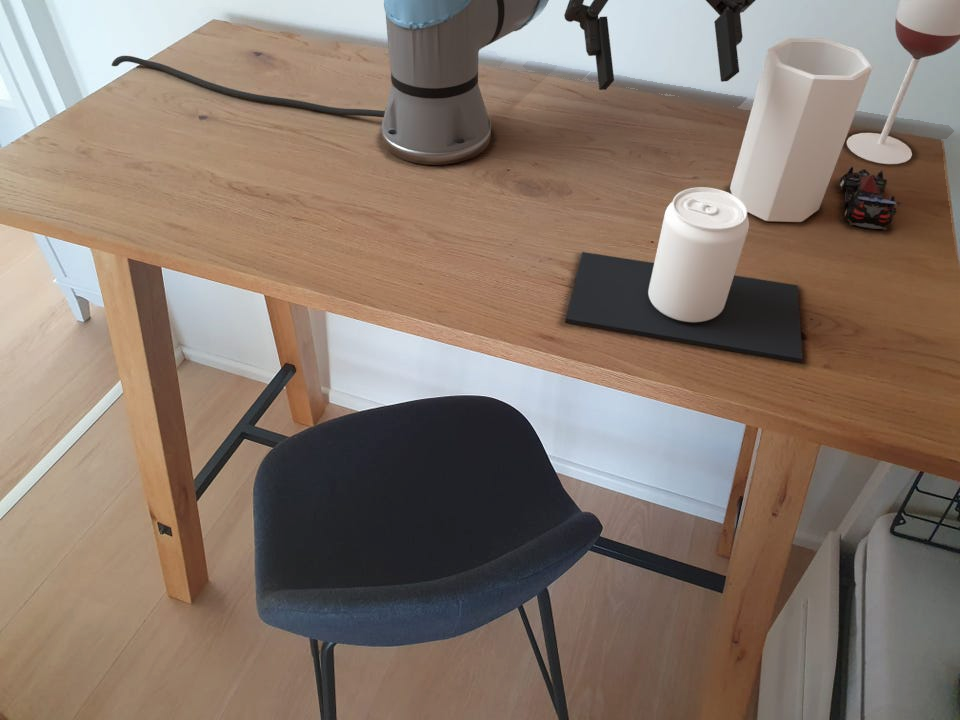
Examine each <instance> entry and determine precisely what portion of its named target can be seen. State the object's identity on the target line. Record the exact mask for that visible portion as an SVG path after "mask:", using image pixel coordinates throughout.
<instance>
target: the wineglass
mask: <svg viewBox="0 0 960 720" xmlns="http://www.w3.org/2000/svg"><path fill="white" fill-rule="evenodd" d="M894 28H895V29H894V30H895V31H894V32H895V37H896V39H897V41H898V42H899V44H900V45H901V47H903V49H904V50H905V51H906V52H907V53H909V54H910V55H911V56H912V58H911V61H910V64H909V66H908V69H907V71H906V73H905V75H904V78H903V80H902V82H901V85H900V88H899V89H898V92H897V95H896V97H895V100H894V102H893V104H892V107H891V109H890V112H889V114H888V116H887V119H886V122H885V124H884V126H883V128H882V131H881V133H877V132H875V133H874V132H860V133H855V134H852V135H851V136H849V137H848V138H847V139H846V146H847V148H848V149H849V150H850V152H852V153H853V154H854V155H856V156H858V157H859V158H862V159H864V160H865V161H869V162H874V163H877V164H884V165H899V164H903V163H906V162H908V161H909V160H911V158H912V156H913V153H912V149H911V148H910V147H909V145H908V144H906V143H904V142H903V141H901V140H900V139H897V138H895V137H892V136H890V135H889V134H890V131H891V129H892V126H893V124H894V122H895V120H896V118H897V115H898V112H899V110H900V108H901V105H902V103H903V100H904V98H905V96H906V93H907V91H908V89H909V86H910V84H911V81H912V79H913V76H914V74H915V73H916V70H917V67H918V65H919V62H920V60H921V59H922V58H927V57H930V56H931V57H933V56H935V55H938V54H942V53H944V52H946V51H947V50H949V49H951V48H953V46H954V45H956V44H957V43H958V42H960V0H899V2H898V5H897V9H896V13H895V23H894Z"/></svg>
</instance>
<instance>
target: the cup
mask: <svg viewBox="0 0 960 720" xmlns="http://www.w3.org/2000/svg"><path fill="white" fill-rule="evenodd" d="M764 59H765V60H764V63H763V66H762V70H761V74H760V78H759V82H758V85H757V88H756V92H755V95H754V99H753V103H752V105H751V110H750V113H749V117H748V122H747V124H746V128H745V132H744V135H743V139H742V142H741V148H740V150H739V154H738V157H737V160H736V165H735V168H734V172H733V175H732V179H731V183H730V186H729V190H730V194H732V195H734V196H736V197H737V198H738V199H740V200H741V201H742V202H743V203H744V205H745V206H746V208H747V213H749V214H750V215H752V216H755V217H757V218H759V219H761V220H763V221H765V222H781V223H782V222H783V223H784V222H785V223H802V222H804V221H805V220H807V219H808V218H810V216H812V215H813V214H814V213H816V212H817V211H819V210H820V208H821V205H822V202H823V200H824V197H825V194H826V192H827V189H828V186H829V184H830V181H831V179H832V176H833V173H834V171H835V168H836V165H837V163H838V160H839V158H840V155H841V152H842V150H843V147H844V144H845V142H846V140H847V137H848V134H849V131H850V129H851V126H852V124H853V121H854V118H855V115H856V113H857V110H858V107H859V105H860V102H861V100H862V97H863V94H864V91H865V89H866V86H867V84H868V81H869V78H870V75H871V73H872V70H873V66H872V65H871V63H870V62H869V61H868V60H867V58H866V56H865V55H864V54H863V53H862V51H861V50H860V49H859V48H854V47H852V46H848V45H846V44H843V43H839V42H837V41H835V40H831V39H828V38H809V37H808V38H807V37H790V38H789V37H788V38H787V39H785V40H783V41H781V42H779V43H777V44H775V45H773V46H771V47H769V48H768V49H767V52H766V56H765V58H764Z"/></svg>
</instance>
